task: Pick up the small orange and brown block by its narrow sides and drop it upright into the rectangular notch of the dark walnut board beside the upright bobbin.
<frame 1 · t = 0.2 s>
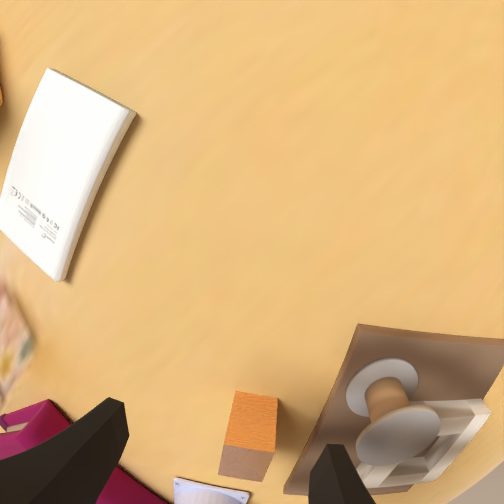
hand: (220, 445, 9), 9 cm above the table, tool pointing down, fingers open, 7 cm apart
external hard drive: (58, 172, 17), on the table
orange and brown block: (252, 412, 21), on the table
notched board: (392, 432, 20), on the table
book: (94, 476, 29), on the table
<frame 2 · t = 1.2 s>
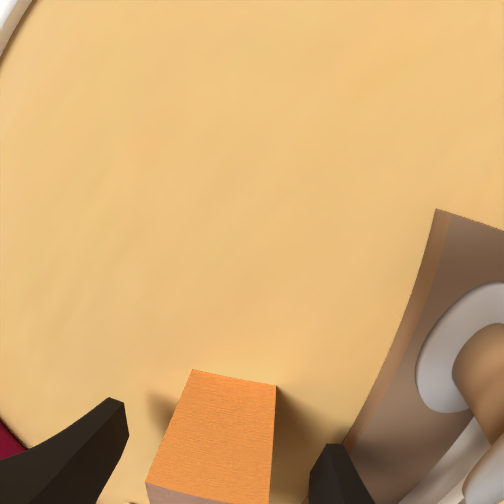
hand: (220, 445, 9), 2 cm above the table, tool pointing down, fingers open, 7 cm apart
orange and brown block: (227, 414, 11), on the table
notched board: (462, 438, 10), on the table
book: (43, 487, 19), on the table
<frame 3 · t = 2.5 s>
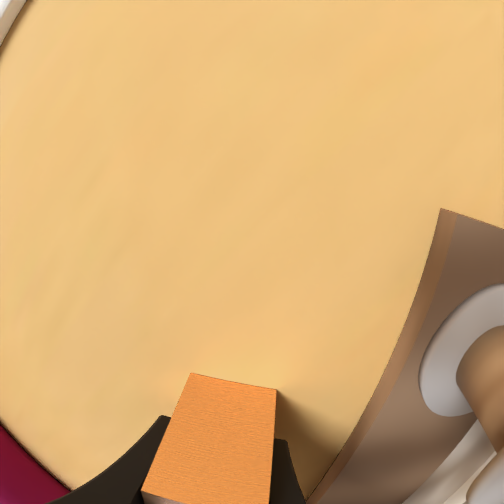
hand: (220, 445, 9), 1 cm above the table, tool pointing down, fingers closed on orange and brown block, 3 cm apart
orange and brown block: (226, 418, 10), on the table, touching gripper
notched board: (465, 440, 10), on the table
book: (42, 487, 19), on the table
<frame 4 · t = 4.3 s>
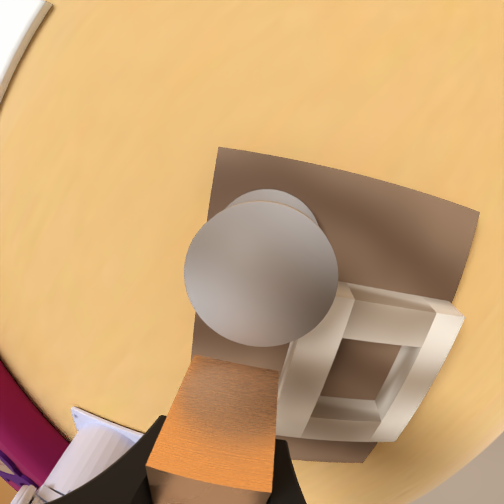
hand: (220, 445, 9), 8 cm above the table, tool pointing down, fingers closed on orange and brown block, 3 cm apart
orange and brown block: (229, 401, 11), point 6 cm above the table, touching gripper
notched board: (315, 349, 17), on the table
book: (18, 420, 26), on the table
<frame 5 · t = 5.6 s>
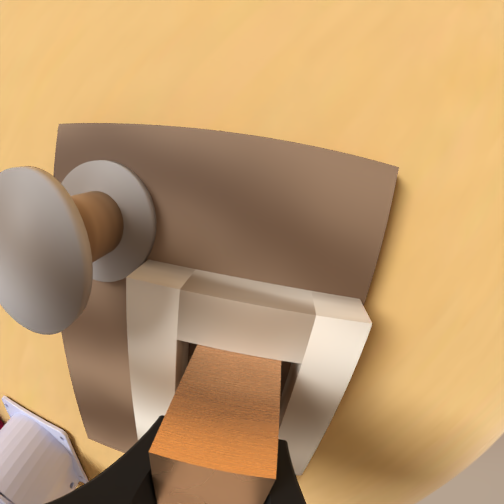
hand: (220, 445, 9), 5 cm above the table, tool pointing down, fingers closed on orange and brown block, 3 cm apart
orange and brown block: (232, 392, 11), point 3 cm above the table, touching gripper
notched board: (188, 351, 14), on the table
when the fingers open (4 cm above the table, at t = 6.6 s): orange and brown block stays where it is, resting on notched board.
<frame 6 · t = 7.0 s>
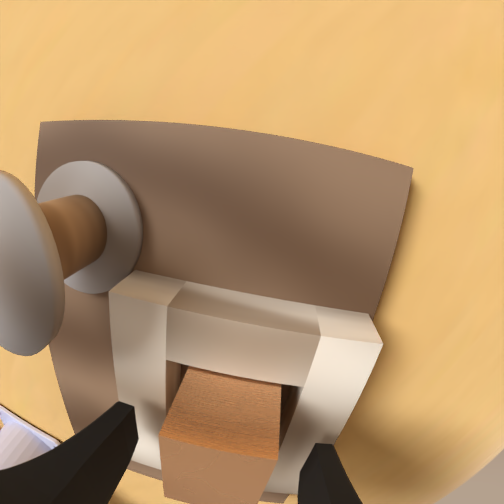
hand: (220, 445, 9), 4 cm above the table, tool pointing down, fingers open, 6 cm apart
orange and brown block: (235, 382, 12), point 1 cm above the table, touching notched board
notched board: (181, 367, 13), on the table
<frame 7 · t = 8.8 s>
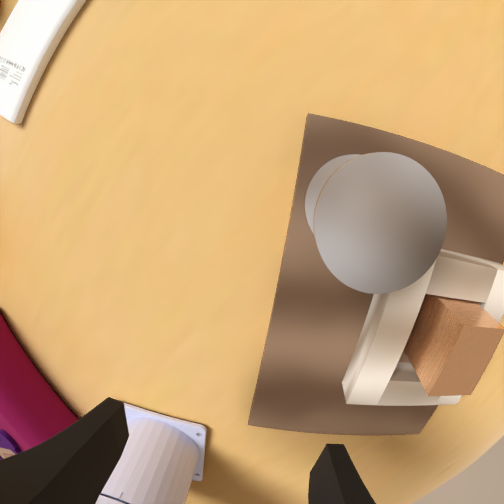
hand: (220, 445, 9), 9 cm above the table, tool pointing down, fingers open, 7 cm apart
external hard drive: (36, 38, 14), on the table
orange and brown block: (431, 316, 16), point 1 cm above the table, touching notched board
notched board: (387, 314, 17), on the table
book: (43, 421, 26), on the table
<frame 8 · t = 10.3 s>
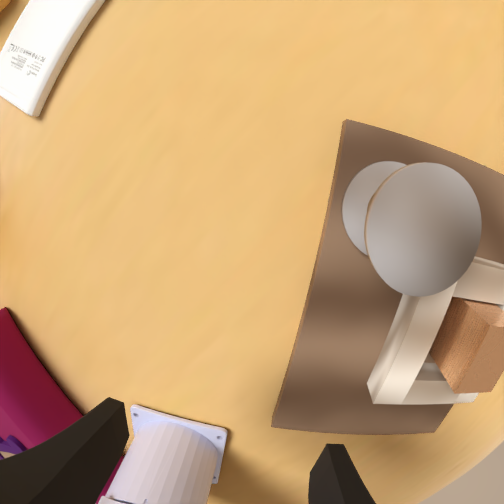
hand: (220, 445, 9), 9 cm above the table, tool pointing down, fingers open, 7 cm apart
external hard drive: (55, 28, 14), on the table
orange and brown block: (452, 318, 16), point 1 cm above the table, touching notched board
notched board: (412, 316, 17), on the table
book: (50, 425, 26), on the table
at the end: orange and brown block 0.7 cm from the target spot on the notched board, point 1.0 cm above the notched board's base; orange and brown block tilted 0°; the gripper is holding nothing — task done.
